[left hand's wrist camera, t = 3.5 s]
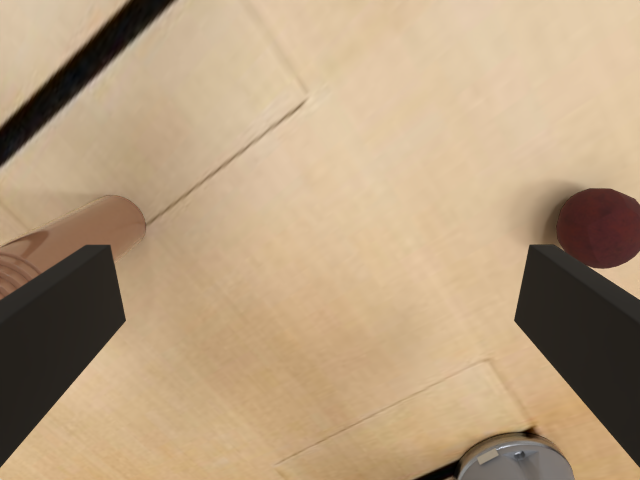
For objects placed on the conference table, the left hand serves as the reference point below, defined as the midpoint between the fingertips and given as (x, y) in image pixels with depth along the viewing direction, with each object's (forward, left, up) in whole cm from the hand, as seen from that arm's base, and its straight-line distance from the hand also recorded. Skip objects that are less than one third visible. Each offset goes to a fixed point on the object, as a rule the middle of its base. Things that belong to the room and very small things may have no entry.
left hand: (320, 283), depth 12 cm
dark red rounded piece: (+6, +27, -28) cm, 39 cm away
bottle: (+7, -21, -28) cm, 36 cm away
